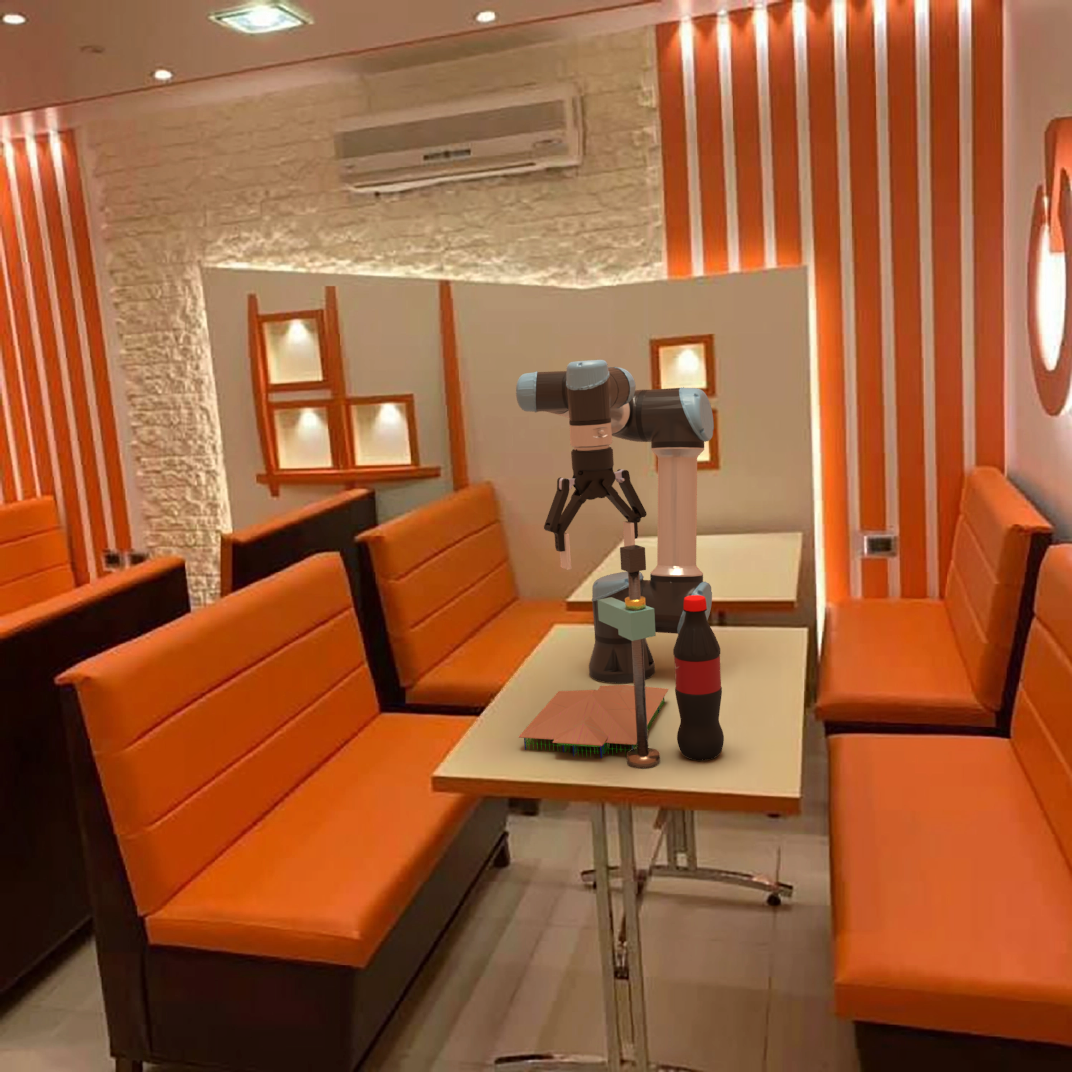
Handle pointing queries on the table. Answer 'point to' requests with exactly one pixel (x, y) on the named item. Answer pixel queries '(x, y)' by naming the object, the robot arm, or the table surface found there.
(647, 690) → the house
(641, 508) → the robot arm
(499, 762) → the table surface
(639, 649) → the post stand
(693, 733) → the cola bottle
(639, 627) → the teal block with hole
